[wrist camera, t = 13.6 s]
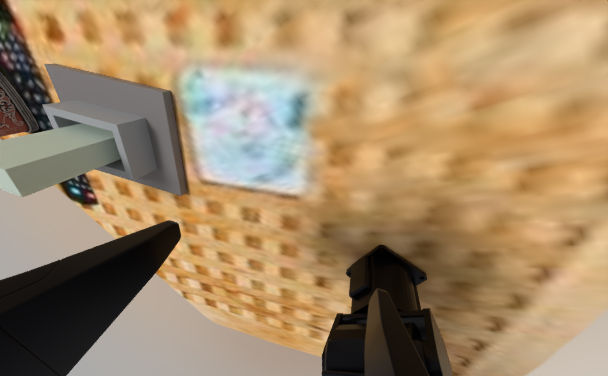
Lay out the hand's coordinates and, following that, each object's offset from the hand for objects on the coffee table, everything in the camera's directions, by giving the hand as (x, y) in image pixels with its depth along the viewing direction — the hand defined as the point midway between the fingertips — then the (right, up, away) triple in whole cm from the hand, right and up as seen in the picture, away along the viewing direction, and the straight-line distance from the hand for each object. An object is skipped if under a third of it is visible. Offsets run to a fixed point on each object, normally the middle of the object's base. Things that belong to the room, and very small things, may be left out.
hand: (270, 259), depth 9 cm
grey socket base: (-19, +9, +16) cm, 27 cm away
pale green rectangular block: (-20, +9, +15) cm, 26 cm away
